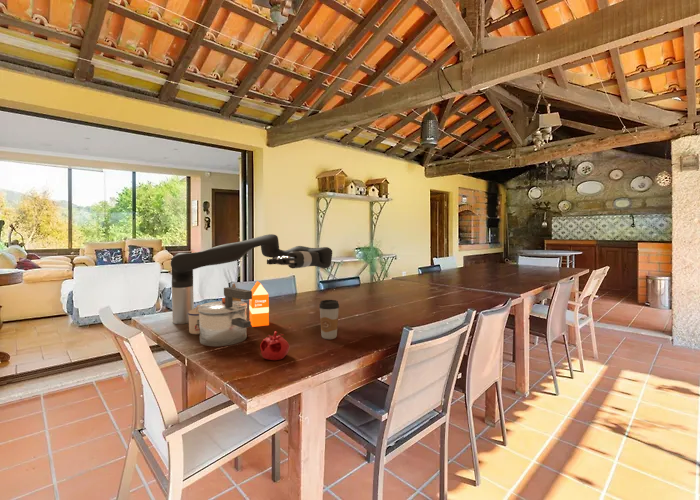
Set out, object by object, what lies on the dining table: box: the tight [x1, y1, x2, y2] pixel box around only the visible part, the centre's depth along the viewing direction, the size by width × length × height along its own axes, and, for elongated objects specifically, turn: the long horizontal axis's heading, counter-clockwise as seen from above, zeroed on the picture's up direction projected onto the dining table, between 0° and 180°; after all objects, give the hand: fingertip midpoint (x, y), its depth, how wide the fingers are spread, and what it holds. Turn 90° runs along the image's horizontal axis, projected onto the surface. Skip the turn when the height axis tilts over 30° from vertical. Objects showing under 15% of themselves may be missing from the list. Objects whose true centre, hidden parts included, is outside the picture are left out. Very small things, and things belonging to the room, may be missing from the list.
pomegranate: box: [259, 330, 290, 361], centre depth 122 cm, size 10×10×9 cm
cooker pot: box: [199, 309, 252, 347], centre depth 139 cm, size 26×18×12 cm
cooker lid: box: [198, 286, 252, 315], centre depth 138 cm, size 26×19×9 cm
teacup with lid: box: [188, 304, 201, 335], centre depth 152 cm, size 12×9×12 cm
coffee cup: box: [318, 299, 340, 340], centre depth 144 cm, size 8×8×15 cm
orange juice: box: [248, 280, 270, 328], centre depth 164 cm, size 8×9×20 cm
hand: (267, 261), depth 145 cm, fingers closed
